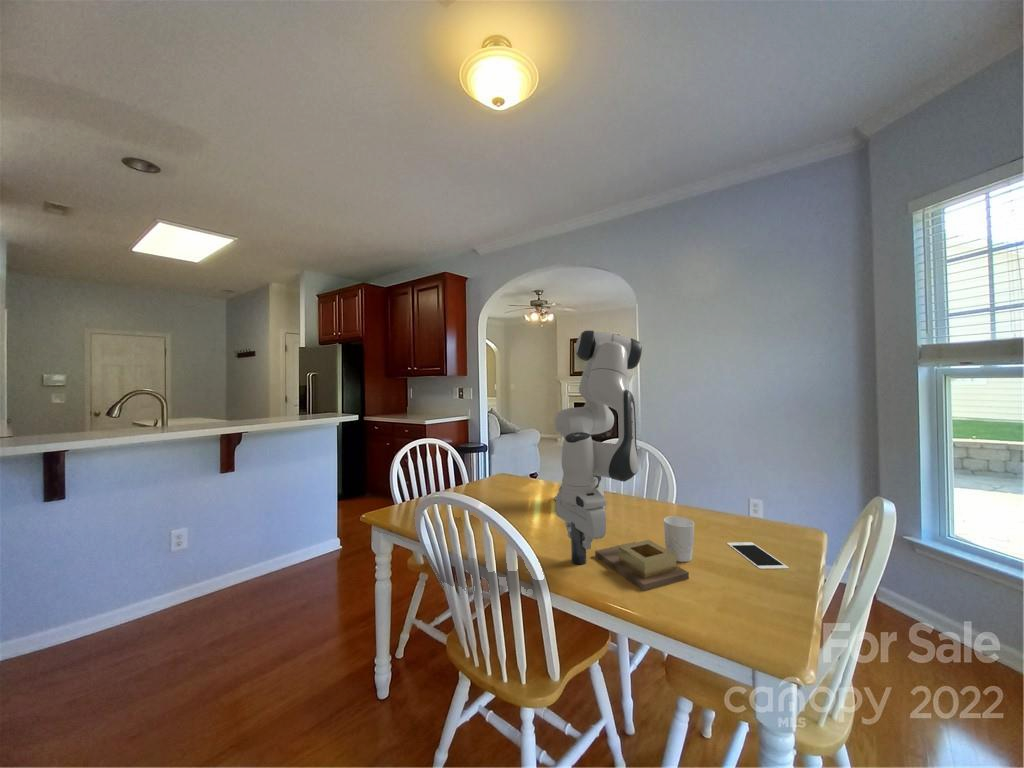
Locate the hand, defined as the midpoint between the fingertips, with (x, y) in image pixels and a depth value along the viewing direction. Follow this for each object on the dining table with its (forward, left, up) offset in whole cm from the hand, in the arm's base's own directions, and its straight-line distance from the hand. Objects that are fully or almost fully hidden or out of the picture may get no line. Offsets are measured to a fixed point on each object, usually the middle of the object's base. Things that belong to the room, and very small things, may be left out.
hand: (579, 542), depth 108 cm
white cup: (+9, +27, -5) cm, 29 cm away
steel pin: (0, 0, -5) cm, 5 cm away
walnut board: (+9, +13, -5) cm, 17 cm away
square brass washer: (+12, +13, -4) cm, 18 cm away
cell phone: (+17, +47, -6) cm, 50 cm away
